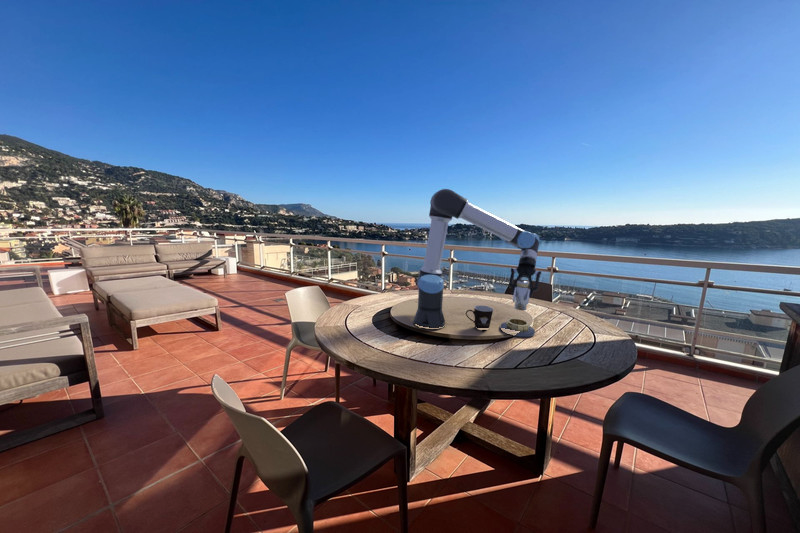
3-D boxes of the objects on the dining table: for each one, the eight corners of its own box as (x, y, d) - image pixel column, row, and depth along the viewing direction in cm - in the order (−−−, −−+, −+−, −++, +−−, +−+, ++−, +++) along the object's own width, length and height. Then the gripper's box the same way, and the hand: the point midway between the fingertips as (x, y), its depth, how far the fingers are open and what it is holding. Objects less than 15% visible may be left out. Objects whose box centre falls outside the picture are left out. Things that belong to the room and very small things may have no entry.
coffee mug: (493, 327, 140) (495, 307, 138) (488, 333, 132) (490, 312, 131) (470, 322, 146) (471, 303, 144) (463, 327, 139) (465, 307, 137)
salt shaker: (511, 307, 136) (514, 280, 133) (520, 306, 138) (523, 279, 135) (520, 311, 131) (523, 283, 129) (529, 309, 133) (532, 282, 131)
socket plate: (493, 326, 140) (494, 318, 140) (517, 323, 146) (518, 314, 145) (516, 339, 127) (517, 330, 126) (541, 335, 132) (543, 325, 132)
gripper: (547, 267, 140) (542, 309, 129) (508, 263, 149) (500, 302, 137) (548, 257, 135) (543, 301, 123) (507, 254, 143) (499, 294, 132)
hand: (520, 301), depth 130 cm, fingers closed on salt shaker, 5 cm apart
